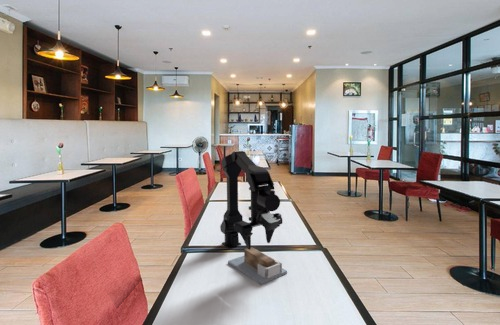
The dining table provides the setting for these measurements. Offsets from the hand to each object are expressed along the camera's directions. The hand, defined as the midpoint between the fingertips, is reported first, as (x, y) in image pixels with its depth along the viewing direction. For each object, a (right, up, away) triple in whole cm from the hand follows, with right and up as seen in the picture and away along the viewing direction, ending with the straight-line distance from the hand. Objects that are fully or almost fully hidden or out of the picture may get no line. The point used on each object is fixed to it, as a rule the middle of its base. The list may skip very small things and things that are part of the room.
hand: (258, 246), depth 114 cm
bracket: (-1, -9, +2) cm, 9 cm away
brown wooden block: (0, -8, +1) cm, 8 cm away
